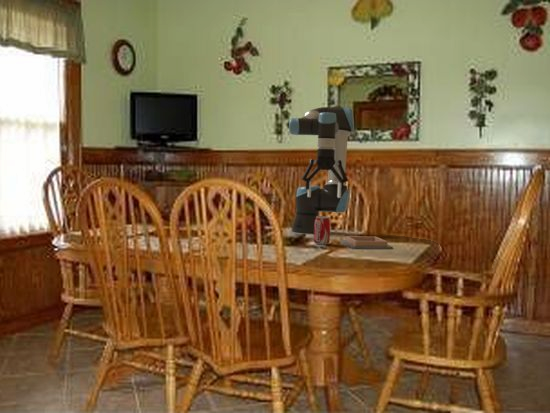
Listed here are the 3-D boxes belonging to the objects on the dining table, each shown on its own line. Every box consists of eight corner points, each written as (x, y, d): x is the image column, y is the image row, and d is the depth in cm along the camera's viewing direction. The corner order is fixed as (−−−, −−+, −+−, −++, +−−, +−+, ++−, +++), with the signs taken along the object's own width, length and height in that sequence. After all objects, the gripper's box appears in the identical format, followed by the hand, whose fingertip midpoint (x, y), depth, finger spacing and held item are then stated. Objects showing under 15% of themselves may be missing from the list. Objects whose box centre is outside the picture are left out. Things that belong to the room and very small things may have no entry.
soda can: (330, 245, 251) (331, 218, 250) (313, 244, 252) (314, 217, 250) (328, 243, 258) (330, 216, 257) (313, 242, 259) (314, 215, 257)
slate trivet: (340, 242, 262) (340, 235, 261) (377, 242, 265) (378, 236, 265) (352, 248, 244) (352, 241, 244) (392, 249, 247) (393, 242, 247)
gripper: (300, 147, 245) (298, 197, 247) (356, 149, 250) (354, 198, 252) (296, 147, 253) (294, 196, 254) (350, 149, 257) (348, 197, 259)
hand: (324, 197), depth 253 cm, fingers open, 13 cm apart
